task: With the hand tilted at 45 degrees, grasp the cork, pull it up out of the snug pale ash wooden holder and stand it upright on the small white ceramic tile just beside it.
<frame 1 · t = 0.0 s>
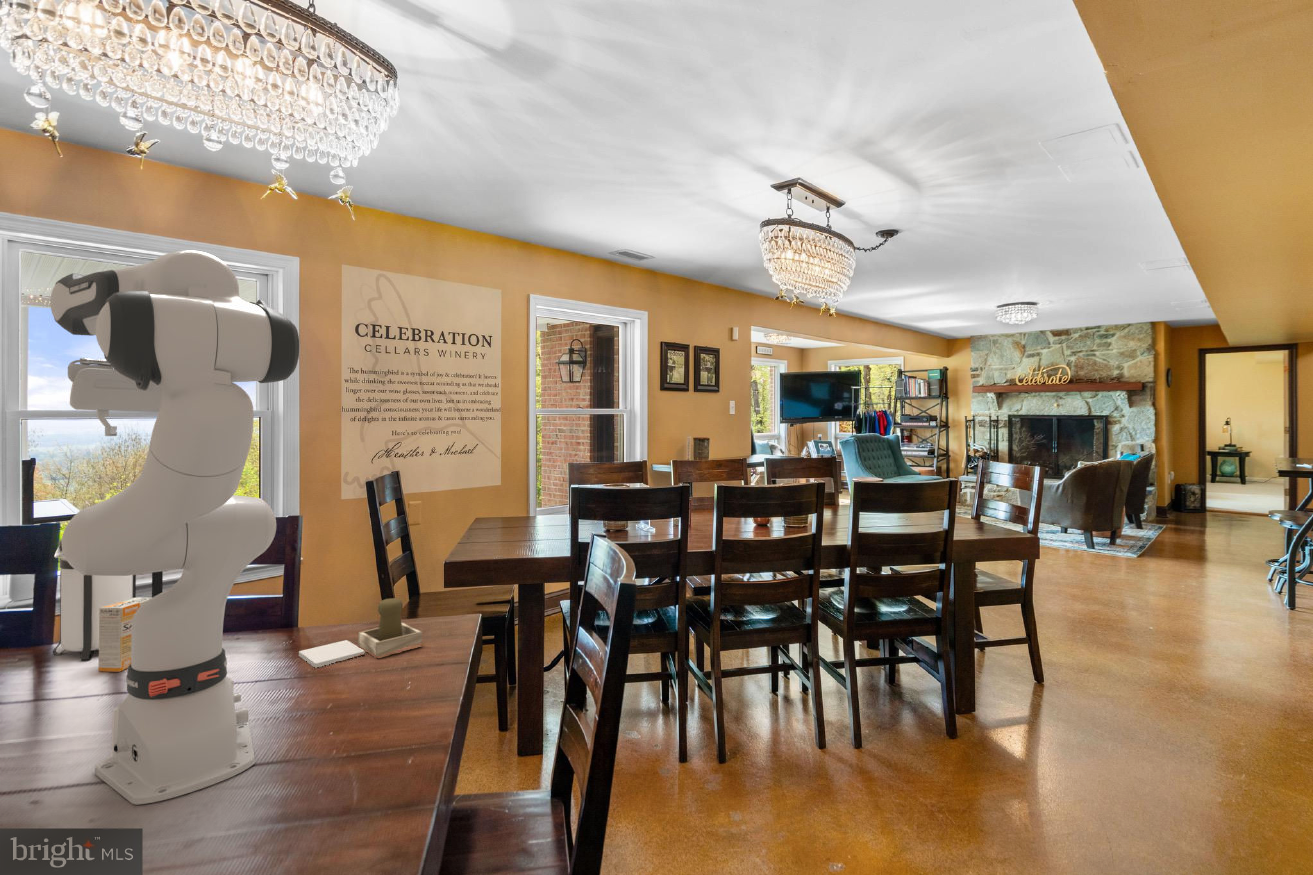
hand: (144, 436, 113), 48 cm above the table, tool pointing down, fingers open, 8 cm apart
coffee press: (104, 648, 135), on the table
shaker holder: (390, 647, 138), on the table
cork: (390, 648, 138), resting in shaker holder
ceramic tile: (331, 655, 132), on the table
supplement box: (127, 665, 126), on the table
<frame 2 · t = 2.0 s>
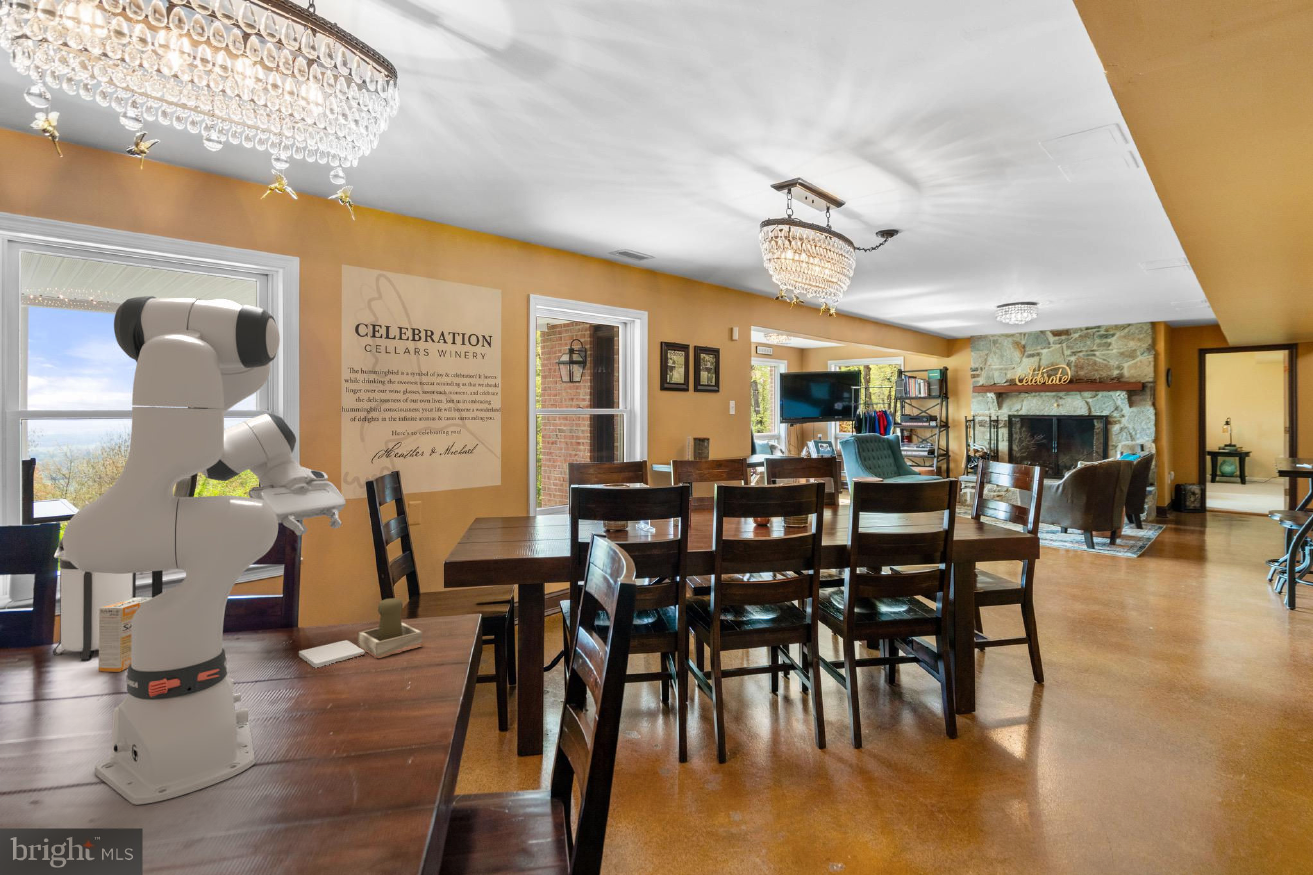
hand: (321, 529, 136), 27 cm above the table, tool tilted 45°, fingers open, 8 cm apart
nothing on the table moved.
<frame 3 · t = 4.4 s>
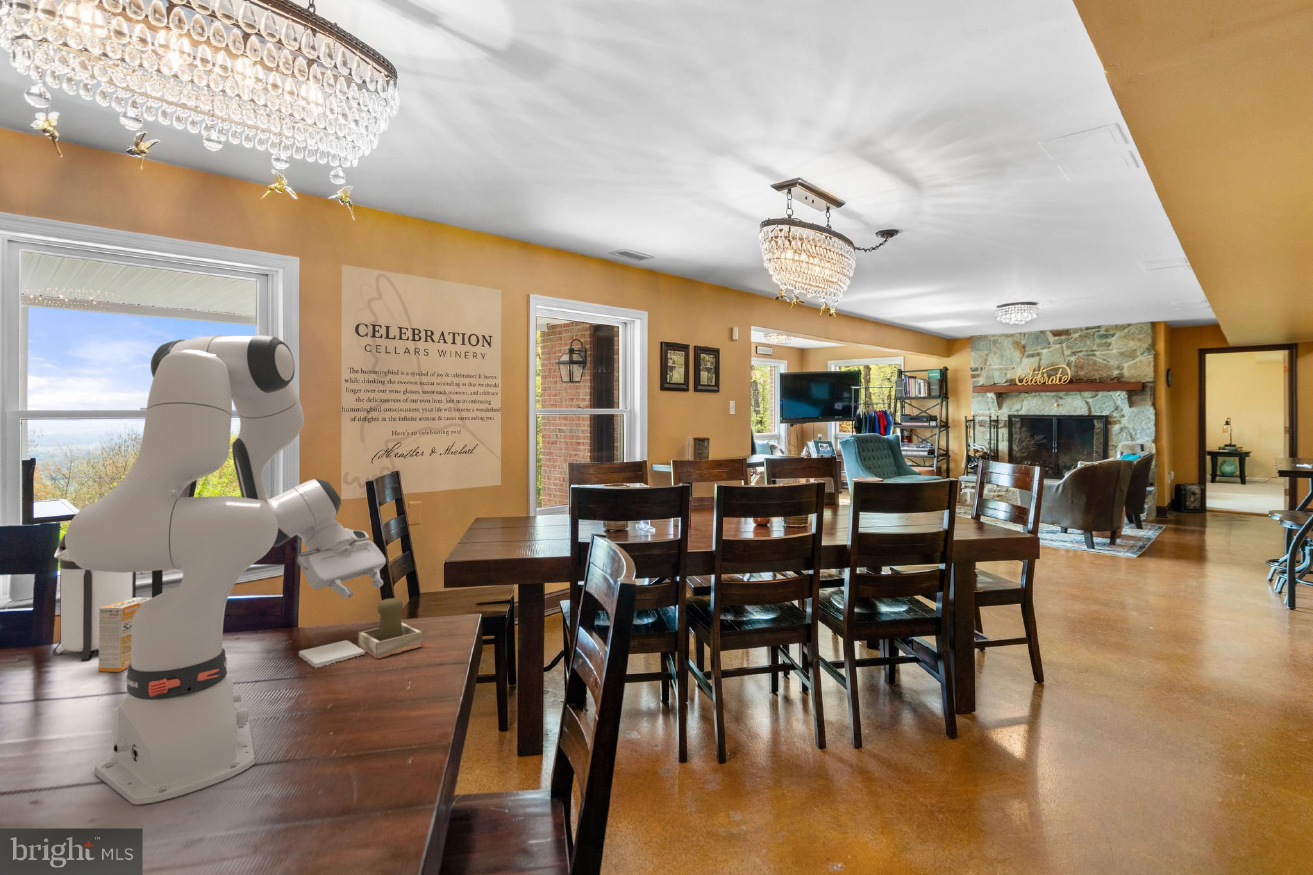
hand: (365, 591, 140), 12 cm above the table, tool tilted 45°, fingers open, 8 cm apart
nothing on the table moved.
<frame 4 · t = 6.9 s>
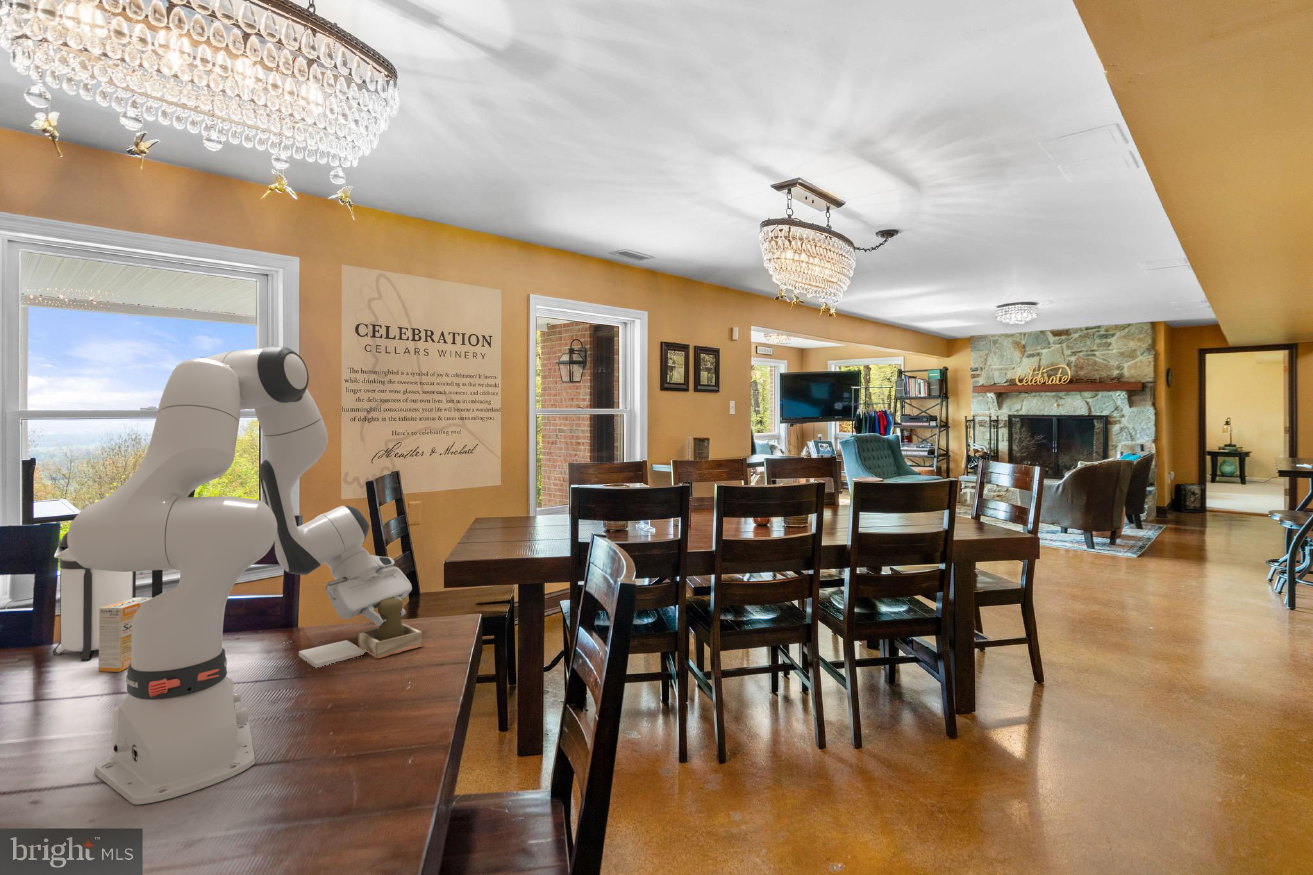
hand: (392, 619, 138), 6 cm above the table, tool tilted 45°, fingers closed on cork, 5 cm apart
cork: (389, 648, 138), resting in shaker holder, touching gripper
everything else where it was.
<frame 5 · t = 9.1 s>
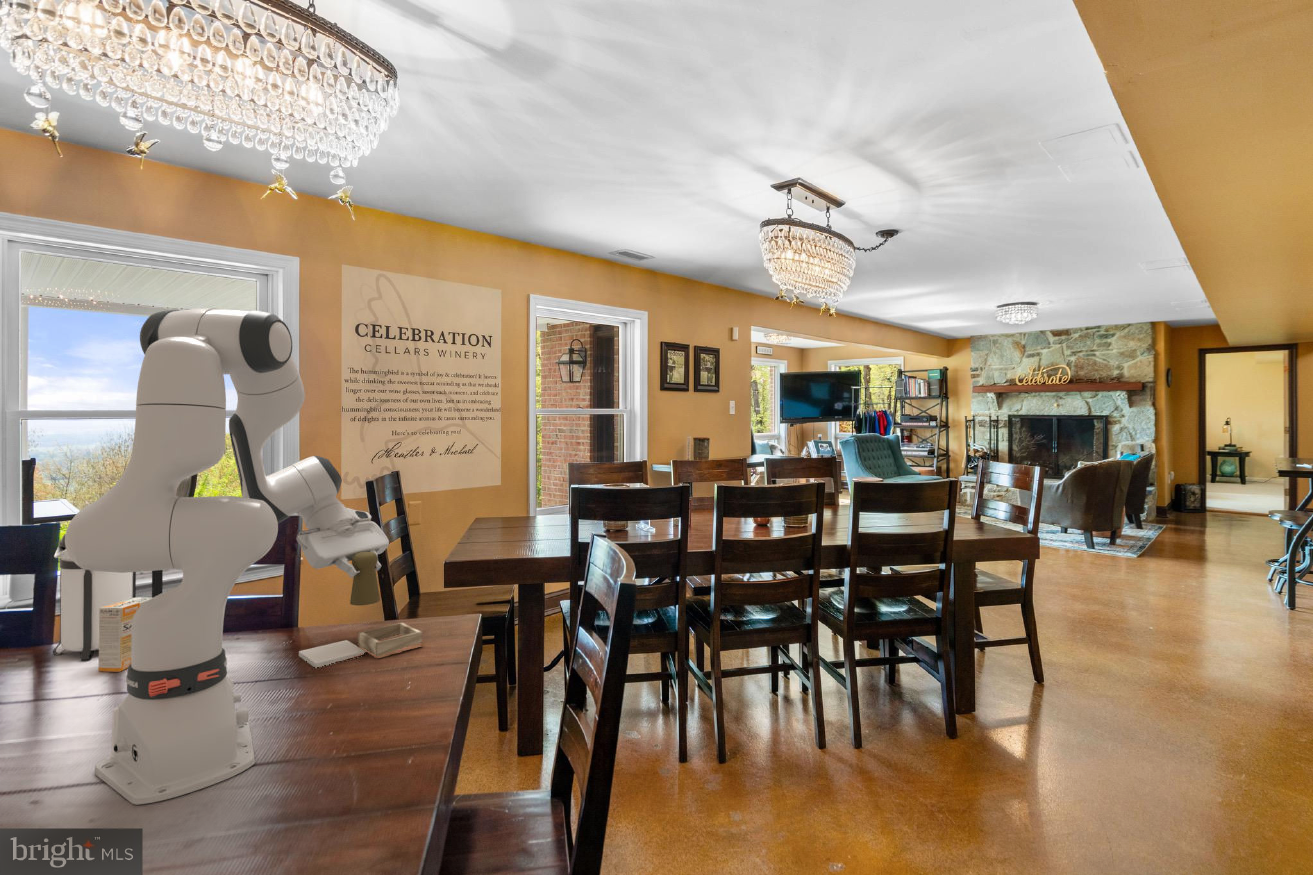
hand: (367, 572, 135), 18 cm above the table, tool tilted 45°, fingers closed on cork, 5 cm apart
cork: (365, 602, 135), point 11 cm above the table, touching gripper
everything else where it was.
when the fingers open (9 cm above the table, at t = 11.8 s): cork drops 1 cm, resting on ceramic tile.
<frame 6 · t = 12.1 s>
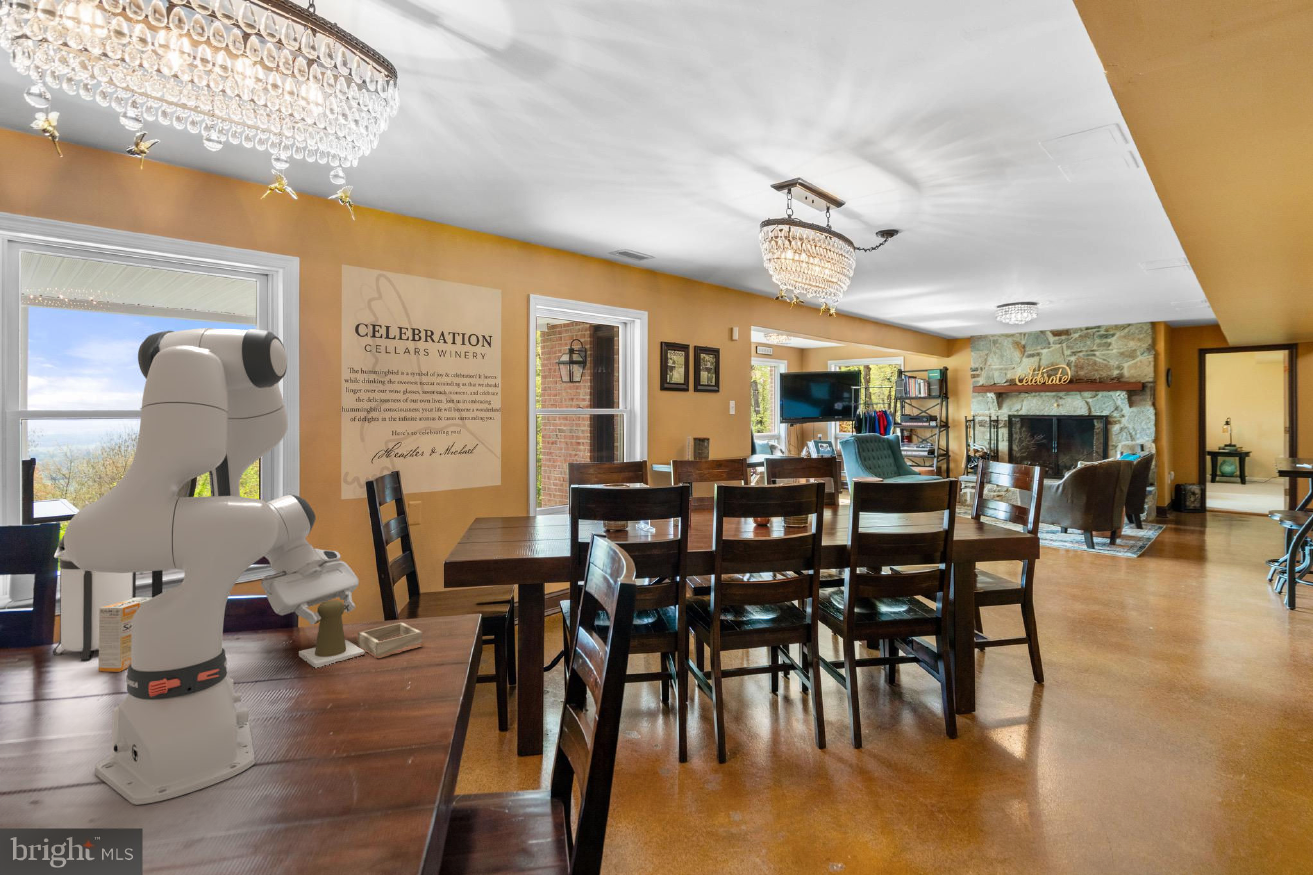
hand: (334, 615, 132), 9 cm above the table, tool tilted 45°, fingers open, 8 cm apart
cork: (330, 652, 132), point 1 cm above the table, touching ceramic tile
everything else where it was.
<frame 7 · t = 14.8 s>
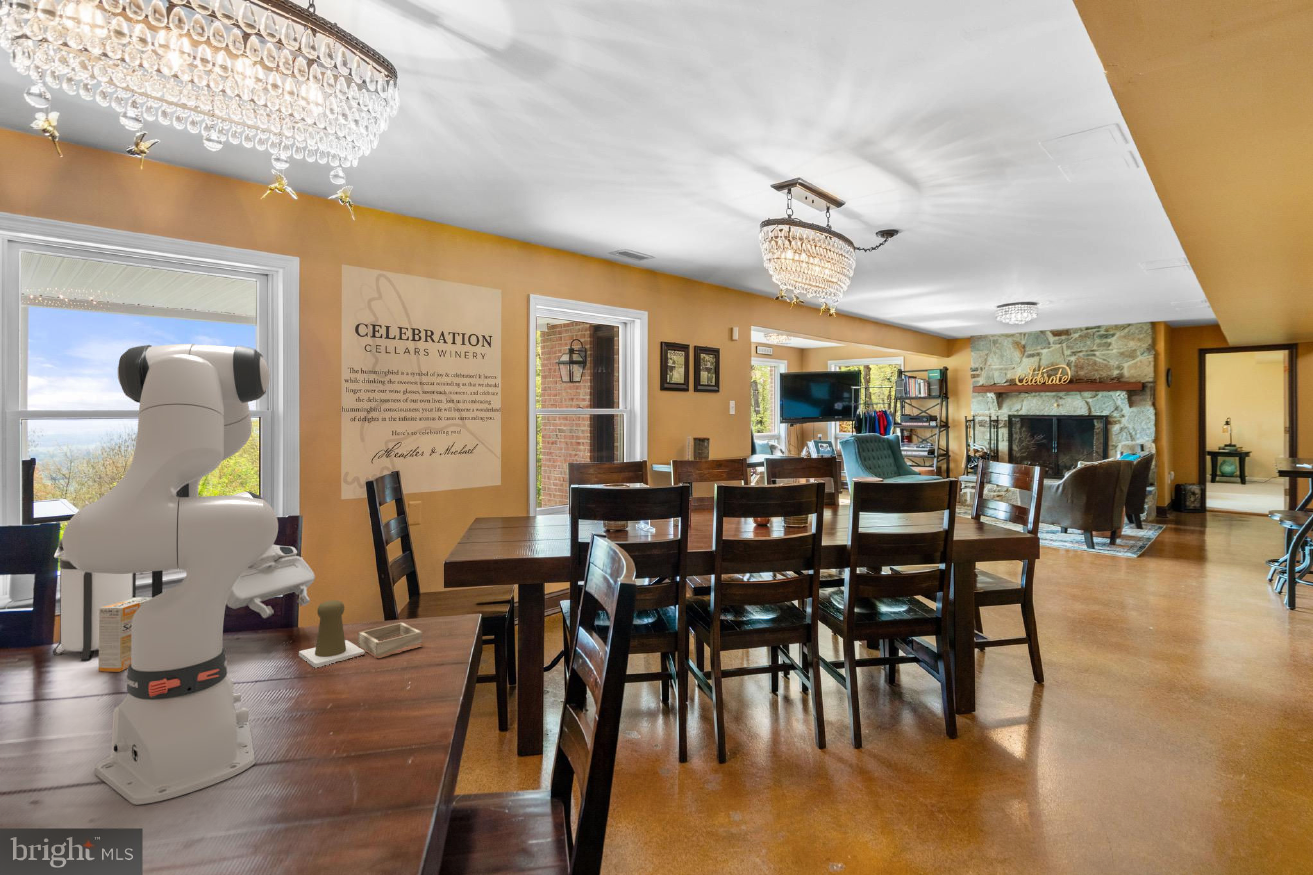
hand: (288, 609, 136), 9 cm above the table, tool tilted 45°, fingers open, 8 cm apart
nothing on the table moved.
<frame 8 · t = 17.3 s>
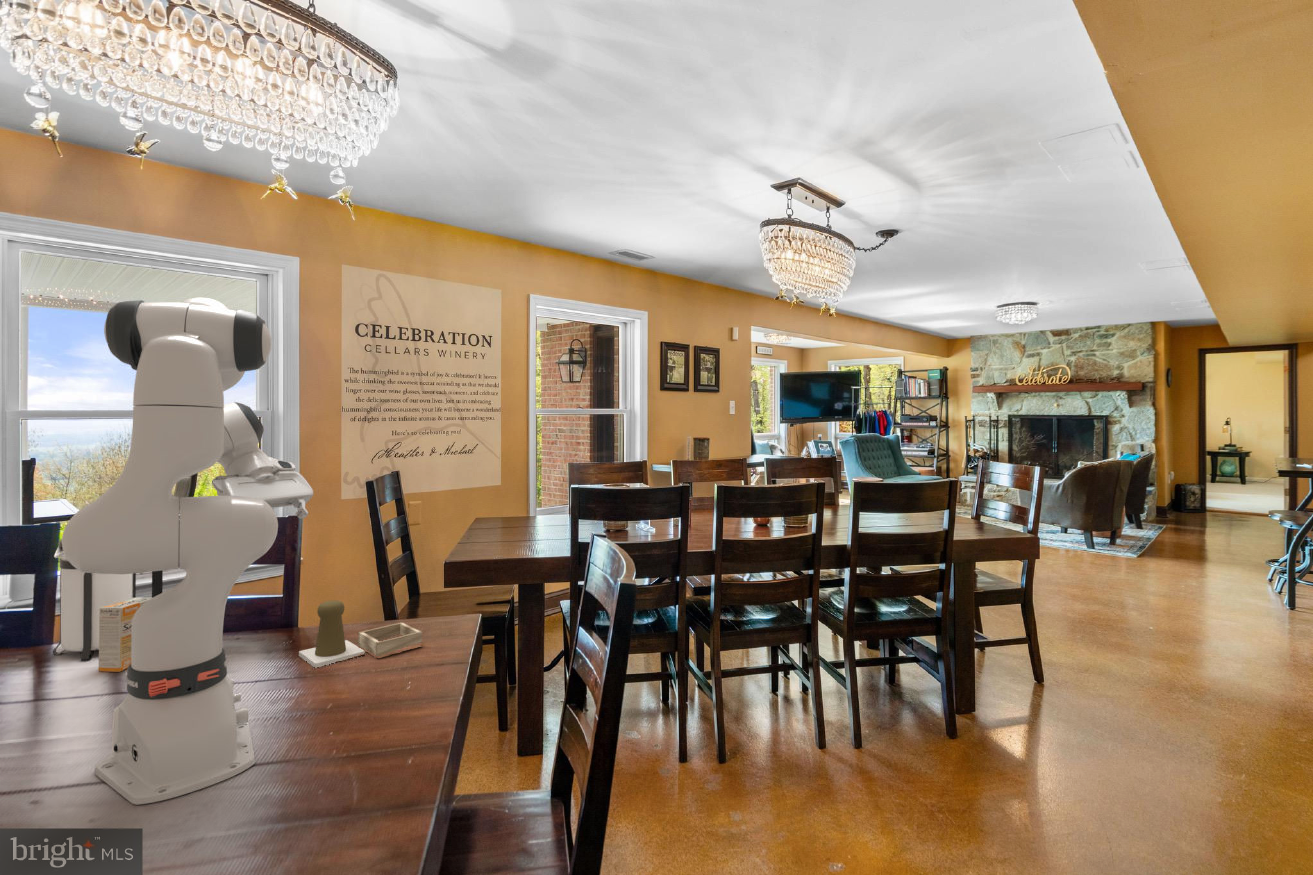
hand: (286, 519, 136), 29 cm above the table, tool tilted 45°, fingers open, 8 cm apart
nothing on the table moved.
at the end: cork 0.4 cm off-centre on the ceramic tile, point 0.8 cm above the ceramic tile's base; cork tilted 0°; the gripper is holding nothing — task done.
